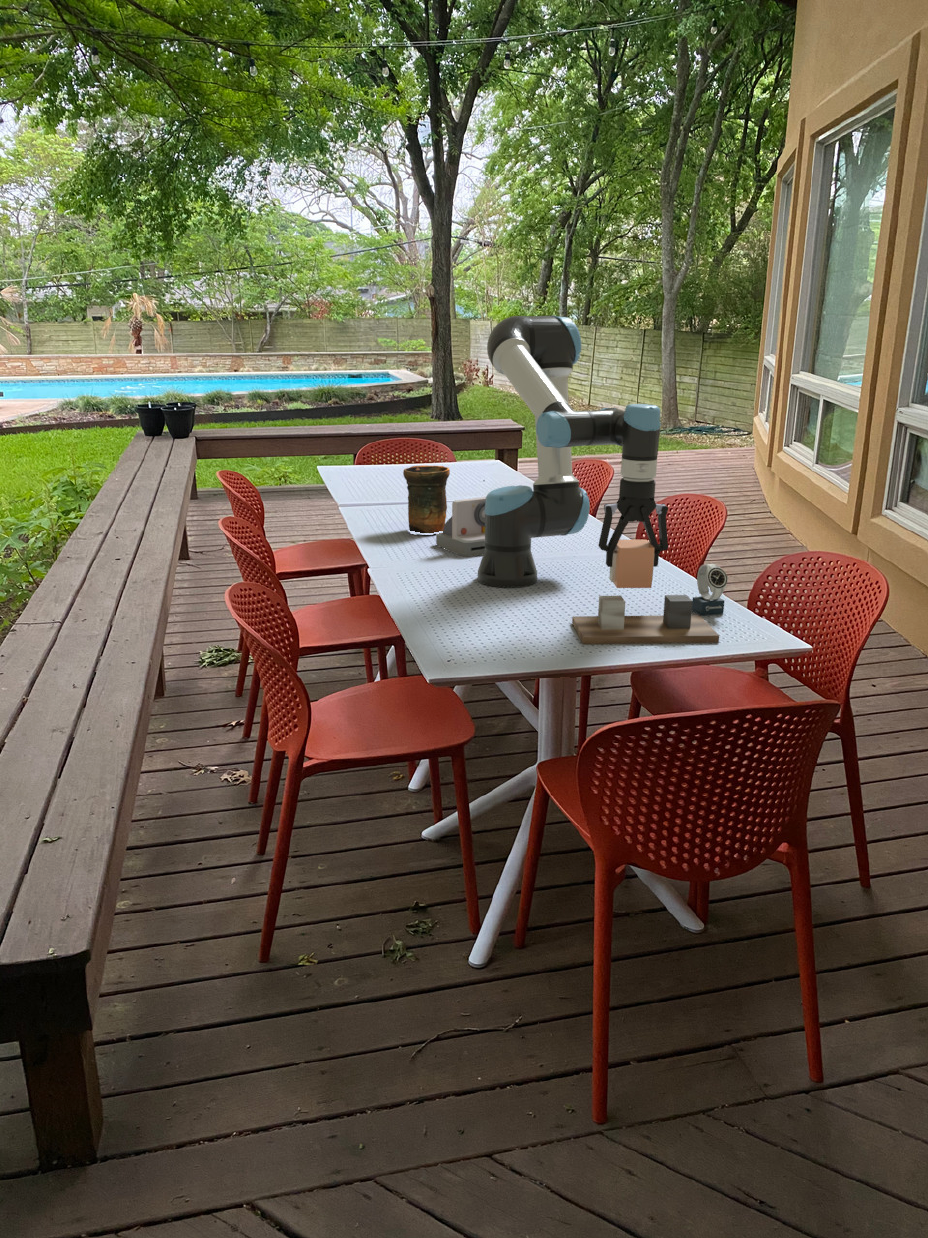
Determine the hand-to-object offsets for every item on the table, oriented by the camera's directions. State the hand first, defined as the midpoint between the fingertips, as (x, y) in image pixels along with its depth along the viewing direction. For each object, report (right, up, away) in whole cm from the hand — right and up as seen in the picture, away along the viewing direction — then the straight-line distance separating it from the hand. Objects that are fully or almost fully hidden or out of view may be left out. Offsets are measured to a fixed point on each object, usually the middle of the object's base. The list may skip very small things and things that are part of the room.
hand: (630, 580), depth 206 cm
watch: (+18, -7, +4) cm, 20 cm away
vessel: (-49, +19, +85) cm, 100 cm away
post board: (+1, -11, -10) cm, 16 cm away
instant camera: (-33, +12, +65) cm, 74 cm away
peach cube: (0, -1, 0) cm, 1 cm away
